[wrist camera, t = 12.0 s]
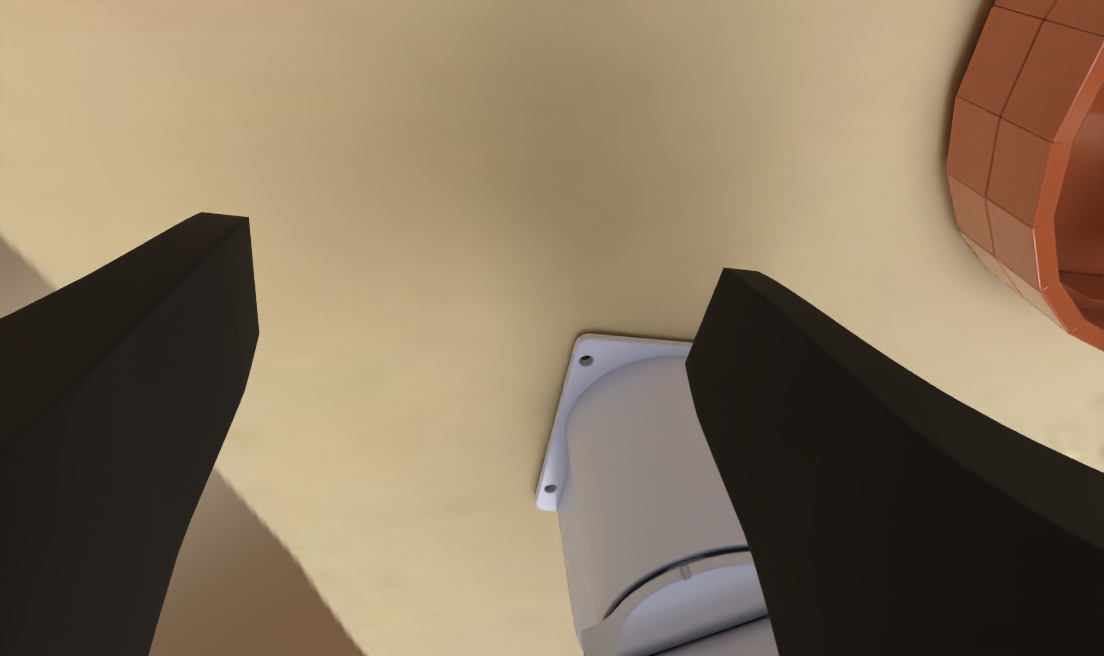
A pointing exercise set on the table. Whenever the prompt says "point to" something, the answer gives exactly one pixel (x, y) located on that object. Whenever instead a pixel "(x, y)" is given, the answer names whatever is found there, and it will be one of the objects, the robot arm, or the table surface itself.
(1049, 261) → the bowl
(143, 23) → the table surface
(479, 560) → the table surface
